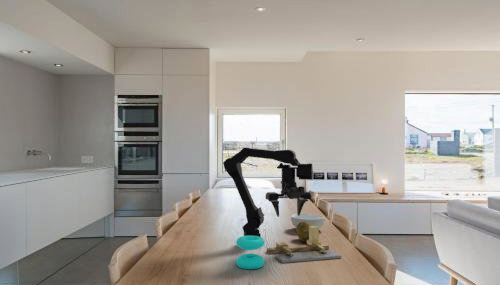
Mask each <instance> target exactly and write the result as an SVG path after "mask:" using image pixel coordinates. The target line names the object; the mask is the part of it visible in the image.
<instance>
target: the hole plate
mask: <svg viewBox="0 0 500 285" xmlns="http://www.w3.org/2000/svg"><path fill="white" fill-rule="evenodd" d="M274 258H276V260H278V261H279V262H280V263H281V264H285V263H286V264H288V263H298V262H309V261H310V262H312V261H313V262H314V261H323V260H333V259H334V260H335V259H342V254H340V253H338V252H336V251H335V250H333V249H325V252H322V251H321V250H312V251H299V252H291V255H289V253H287V252H286V253H274Z"/></svg>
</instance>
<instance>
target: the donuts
mask: <svg viewBox="0 0 500 285" xmlns="http://www.w3.org/2000/svg"><path fill="white" fill-rule="evenodd" d="M235 243H236V245H237V247H238V248H240V249H241V250H245V251H246V250H247V251H255V250H259V249H260V248H262V247H263V246H264V245H265V240H264V238H263V237H259V236H253V235H248V236H244V235H241V236H239V237H238V238H237V239H236V241H235ZM235 263H236V265H237V266H238V268H240V269H243V270H257V269H260V268H262V267H263V266H264V264H265V259H264V258H263V257H262V255H259V254H255V253H244V254H241V255H239V256H238V257H237V259H236V261H235Z"/></svg>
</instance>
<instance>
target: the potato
mask: <svg viewBox="0 0 500 285" xmlns="http://www.w3.org/2000/svg"><path fill="white" fill-rule="evenodd" d="M309 226H311V225H310V224H309V223H308V222H300V223H299V224H298V225H297V227H295V230H296V231H295V232H296V234H297V236H298V240H300V242H303V243H306V244H307V240H309Z"/></svg>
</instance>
